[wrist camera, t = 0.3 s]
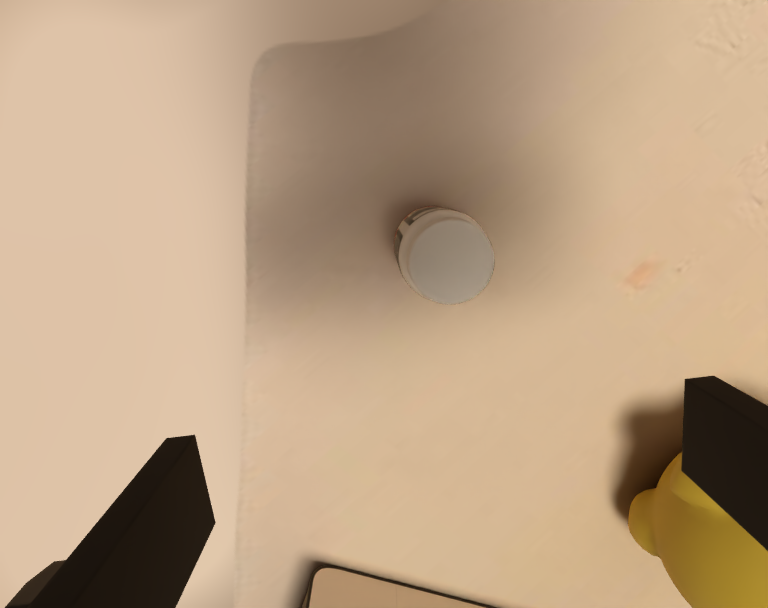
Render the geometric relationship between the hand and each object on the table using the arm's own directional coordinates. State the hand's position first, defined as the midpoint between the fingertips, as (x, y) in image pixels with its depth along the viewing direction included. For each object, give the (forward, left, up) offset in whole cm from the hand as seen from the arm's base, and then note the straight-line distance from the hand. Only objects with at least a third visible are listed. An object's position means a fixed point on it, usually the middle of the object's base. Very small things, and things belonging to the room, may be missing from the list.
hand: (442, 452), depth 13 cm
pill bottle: (-3, +2, -19) cm, 19 cm away
